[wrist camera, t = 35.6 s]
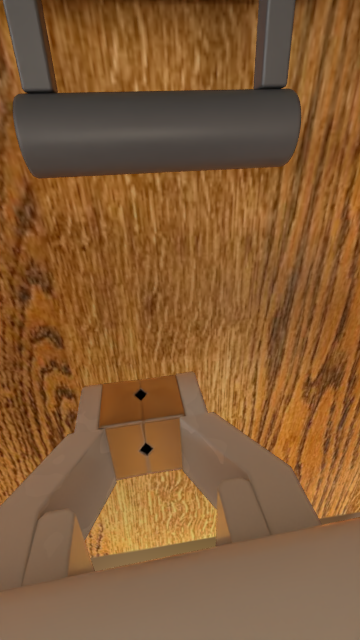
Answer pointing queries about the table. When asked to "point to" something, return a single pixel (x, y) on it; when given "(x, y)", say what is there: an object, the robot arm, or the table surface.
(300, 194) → the table surface
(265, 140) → the drawer
